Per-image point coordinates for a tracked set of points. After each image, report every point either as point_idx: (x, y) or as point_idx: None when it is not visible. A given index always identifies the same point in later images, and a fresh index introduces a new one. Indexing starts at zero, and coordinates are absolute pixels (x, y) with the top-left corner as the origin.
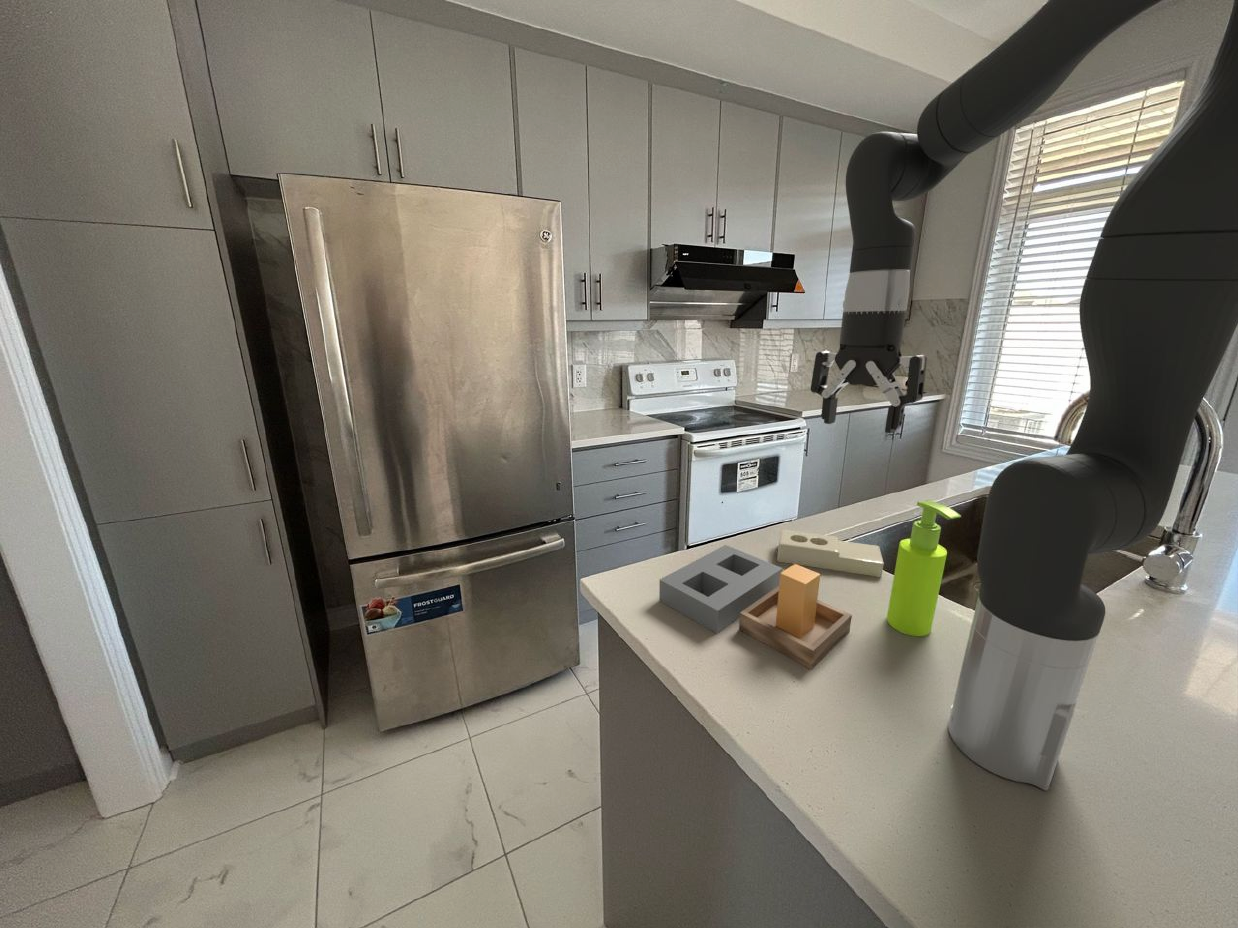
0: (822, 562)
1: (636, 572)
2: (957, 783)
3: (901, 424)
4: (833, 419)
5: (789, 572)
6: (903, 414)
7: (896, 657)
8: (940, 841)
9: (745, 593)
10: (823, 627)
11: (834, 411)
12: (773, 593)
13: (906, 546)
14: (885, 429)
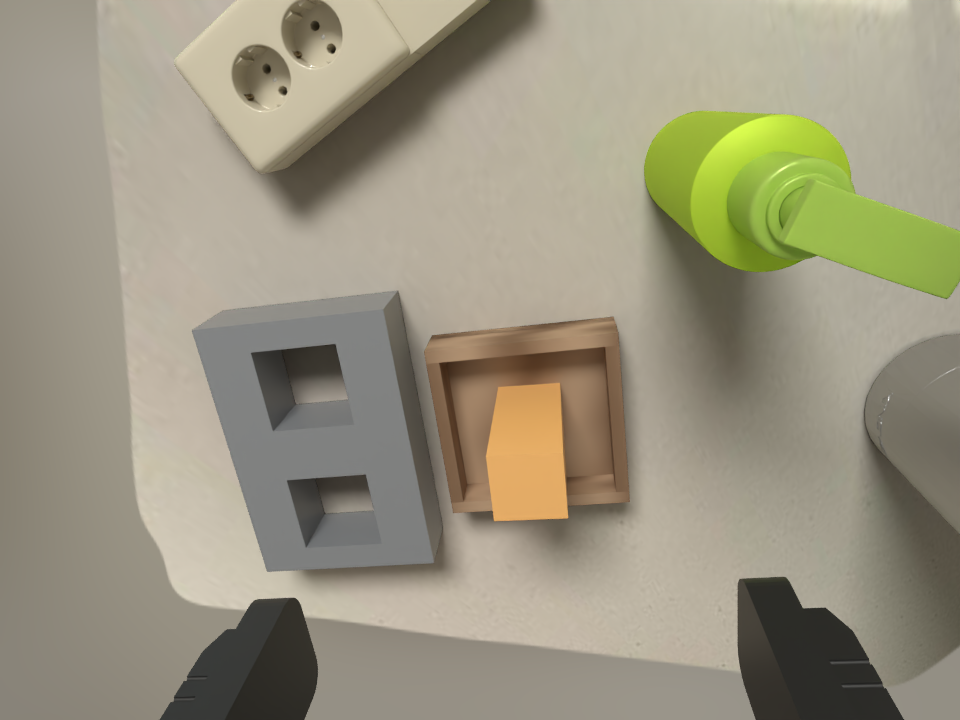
0: (380, 87)
1: (162, 505)
2: (901, 516)
3: (854, 644)
4: (293, 634)
5: (506, 502)
6: (899, 713)
7: (727, 317)
8: (902, 605)
9: (416, 471)
10: (574, 368)
11: (264, 687)
12: (443, 401)
13: (727, 248)
14: (747, 687)
